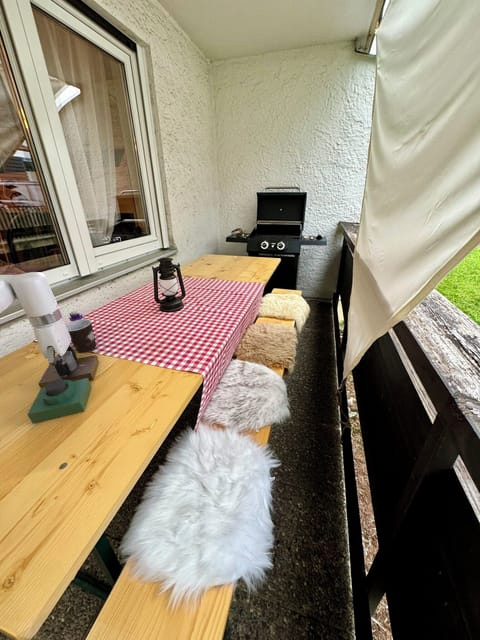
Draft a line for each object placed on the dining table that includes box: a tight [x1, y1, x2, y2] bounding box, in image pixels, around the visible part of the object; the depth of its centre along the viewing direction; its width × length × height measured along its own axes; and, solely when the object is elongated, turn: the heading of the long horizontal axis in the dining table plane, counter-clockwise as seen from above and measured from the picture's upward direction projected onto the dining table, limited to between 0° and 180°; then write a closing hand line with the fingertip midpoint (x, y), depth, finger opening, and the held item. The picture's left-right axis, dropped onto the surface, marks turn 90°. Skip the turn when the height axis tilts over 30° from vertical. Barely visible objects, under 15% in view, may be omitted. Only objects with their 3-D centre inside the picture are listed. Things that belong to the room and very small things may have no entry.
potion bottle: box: [68, 310, 84, 330], centre depth 99 cm, size 9×9×12 cm
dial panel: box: [38, 354, 100, 389], centre depth 82 cm, size 14×10×3 cm
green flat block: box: [27, 378, 93, 425], centre depth 70 cm, size 12×10×6 cm
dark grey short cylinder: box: [45, 379, 67, 396], centre depth 69 cm, size 4×4×2 cm
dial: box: [56, 351, 77, 371], centre depth 80 cm, size 4×4×5 cm
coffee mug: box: [65, 318, 97, 354], centre depth 93 cm, size 12×9×10 cm
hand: (68, 366), depth 81 cm, fingers open, 6 cm apart
